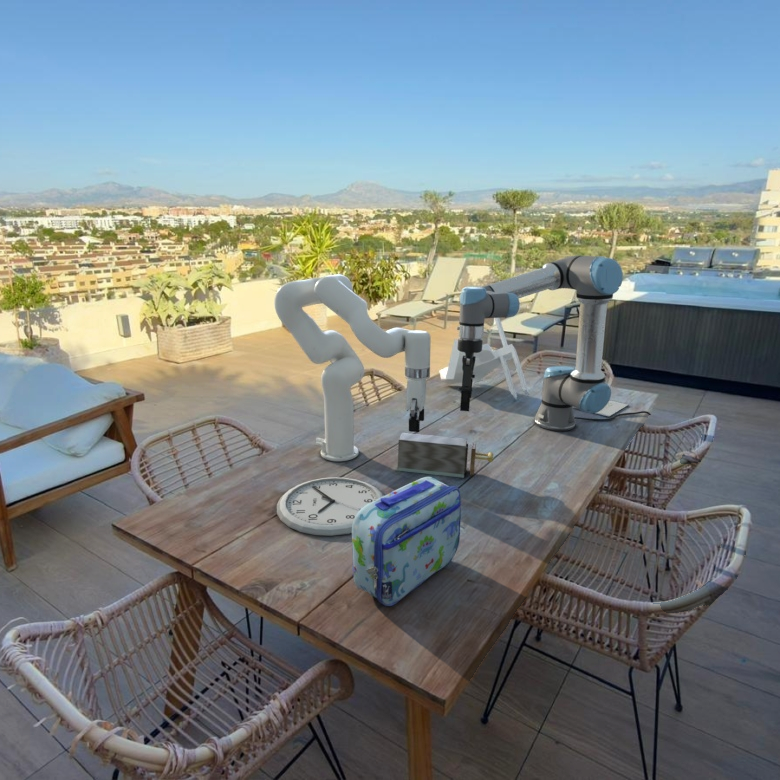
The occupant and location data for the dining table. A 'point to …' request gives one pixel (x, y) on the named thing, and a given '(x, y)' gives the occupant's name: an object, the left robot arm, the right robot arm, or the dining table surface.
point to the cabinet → (432, 454)
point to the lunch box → (405, 538)
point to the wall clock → (325, 505)
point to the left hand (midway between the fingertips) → (416, 425)
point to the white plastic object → (485, 363)
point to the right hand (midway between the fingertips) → (465, 403)
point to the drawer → (476, 457)
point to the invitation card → (611, 408)
